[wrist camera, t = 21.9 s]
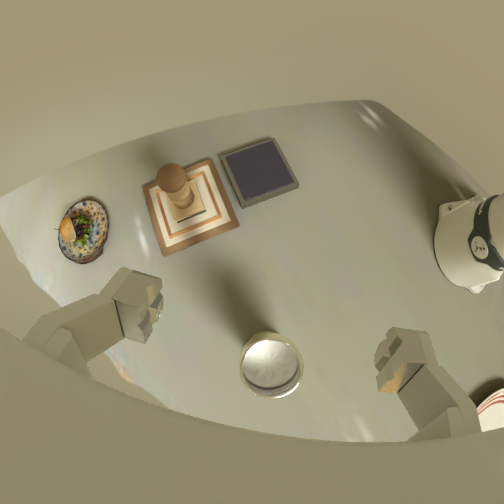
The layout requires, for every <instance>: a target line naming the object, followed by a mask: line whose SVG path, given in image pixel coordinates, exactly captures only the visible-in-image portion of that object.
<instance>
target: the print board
mask: <svg viewBox="0 0 504 504" xmlns="http://www.w3.org/2000/svg"><path fill="white" fill-rule="evenodd" d="M184 171H185V173H186V180H187V182H189V181H191V180H193V179H194V181H195V183H196V185H197V188H198V191H199V193H200V196H201V199H202V201H203V204H204V207H205V209H206V212H204V213H202V214H199V215H197V216H194V217H192V218H189V219H187V220H185V221H182V222H180V223H177V222H176V221H175V220H174V218H173V215H172V212H171V209H170V206H169V203H168V200H167V197H166V194H165V192H164V191H163V190H161V189H160V188H159V186H158V184H157V181H155V182H153V183H151V184H149V185H146V186H144V187H143V191H144V194H145V198H146V202H147V205H148V209H149V212H150V216H151V219H152V222H153V226H154V229H155V232H156V235H157V239H158V242H159V245H160V248H161V251H162V254H163V256H168V255H170V254H172V253H175V252H177V251H180V250H182V249H184V248H187V247H189V246H192V245H194V244H196V243H199V242H201V241H204V240H206V239H209V238H211V237H214V236H216V235H218V234H221V233H223V232H226V231H228V230H231V229H233V228H236V227H238V226H239V223H238V220H237V218H236V215H235V213H234V211H233V208H232V206H231V203H230V201H229V199H228V196H227V194H226V191H225V189H224V187H223V184H222V182H221V179H220V177H219V175H218V172H217V170H216V168H215V165H214V163H213V160H212V158H211V159H208V160H206V161H203V162H201V163H198V164H196V165H193V166H191V167H188V168H186V169H184Z"/></svg>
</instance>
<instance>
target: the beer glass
mask: <svg viewBox="0 0 504 504" xmlns="http://www.w3.org/2000/svg"><path fill="white" fill-rule="evenodd" d="M303 371H304V364H303V359H302V356H301V354H300V353H299V351H298V349H297V347H296V346H295V345H294V344H293V342H292V341H291V340H289V339H288V338H287V337H285V336H283V335H280V334H277V333H275V332H272V331H262V332H259V333H257V334H255V335H254V336H252V337H251V339H250V340H249V341H248V342H247V343H246V345H245V346H244V348H243V349H242V351H241V354H240V359H239V374H240V378H241V381H242V383H243V384H244V386H245V387H246V388H247V389H248V390H249V391H250V392H251V393H252V394H254V395H256V396H258V397H261V398H265V399H276V398H280V397H283V396H286V395H288V394H289V393H291V392H292V391H293V390H294V389H295V388H296V387H297V386H298V384H299V383H300V381H301V379H302V376H303Z"/></svg>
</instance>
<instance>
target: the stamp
mask: <svg viewBox="0 0 504 504" xmlns="http://www.w3.org/2000/svg"><path fill="white" fill-rule="evenodd" d="M157 184H158V186H159V188H160V189H161V190H163V191H164V192H165V194H166V197H167V200H168V203H169V206H170V209H171V212H172V215H173V218H174V220H175V221H176V222H177V223H180V222H182V221H185V220H187V219H189V218H192V217H194V216H197V215H199V214H202V213H204V212H206V209H205V207H204V204H203V201H202V199H201V196H200V193H199V191H198V188H197V185H196V183H195V181H194V179H193V180H191V181H189V182H187V180H186V173H185V171H184V169H183V168H182V167H181V166H179V165H177V164H174V163H170V164H166V165H164V166H163V167H162V168H161V169H160V170H159V171H158V174H157Z"/></svg>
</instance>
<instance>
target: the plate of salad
mask: <svg viewBox="0 0 504 504" xmlns="http://www.w3.org/2000/svg"><path fill="white" fill-rule="evenodd" d="M108 226H109V225H108V217H107V214H106V211H105V209H104V207H103V206H101V205H100V204H99V203H98V202H96V201H95V200H92V199H83V200H82V201H80V202H79V203H76V204H75V205H74V206H72V207H71V208H70V209H69V210H68V211H67V213H66V214H65V216H64V218H63V220H62V222H61V224H60V227H59V229H56V230H59V237H58V240H59V247H60V249H61V251H62V253H63V254H64V255H65V257H67V258H68V259H69V260H71V261H73V262H75V263H79V264H87V263H90V262H93V261H94V260H96V259H97V258H98V257H99V256H101V255H102V253H103V250H102V248H103V246H104V244H105V242H106V240H107V233H108Z"/></svg>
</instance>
